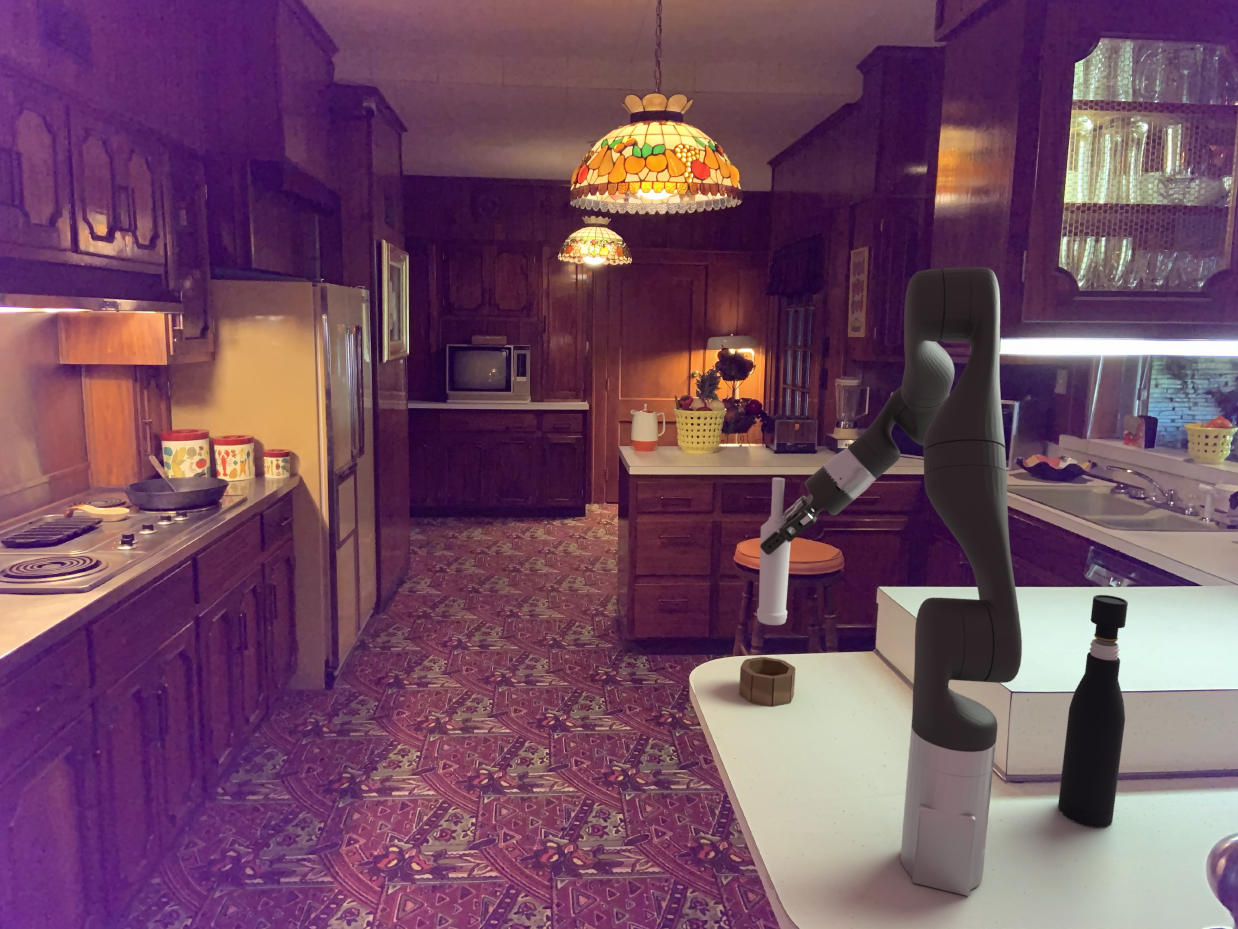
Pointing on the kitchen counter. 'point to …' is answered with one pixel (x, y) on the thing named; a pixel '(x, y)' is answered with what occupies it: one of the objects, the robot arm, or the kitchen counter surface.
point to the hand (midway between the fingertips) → (764, 546)
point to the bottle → (774, 565)
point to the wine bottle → (1095, 724)
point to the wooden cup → (767, 681)
